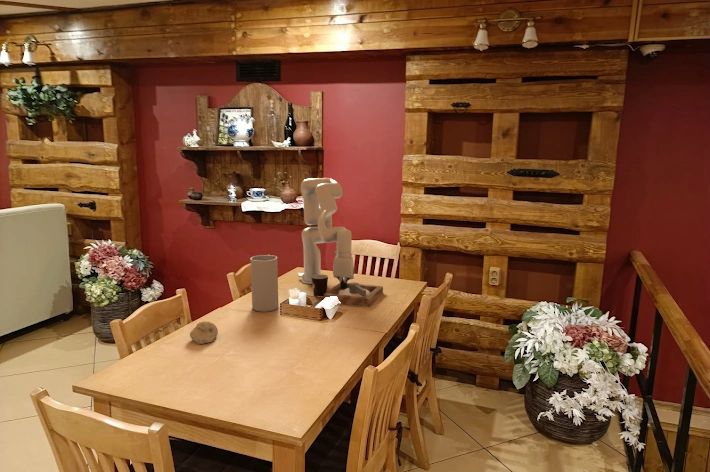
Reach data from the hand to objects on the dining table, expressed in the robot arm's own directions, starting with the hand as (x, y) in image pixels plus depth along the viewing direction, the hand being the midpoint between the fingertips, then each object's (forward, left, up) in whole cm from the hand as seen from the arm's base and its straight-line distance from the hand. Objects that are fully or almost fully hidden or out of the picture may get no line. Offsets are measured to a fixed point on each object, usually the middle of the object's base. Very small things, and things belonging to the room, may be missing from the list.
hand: (343, 289), depth 256 cm
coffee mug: (-15, +5, -6) cm, 17 cm away
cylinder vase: (-31, -25, -6) cm, 40 cm away
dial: (+6, +3, -4) cm, 8 cm away
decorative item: (-35, -68, -6) cm, 77 cm away
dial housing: (+4, +5, -6) cm, 9 cm away
